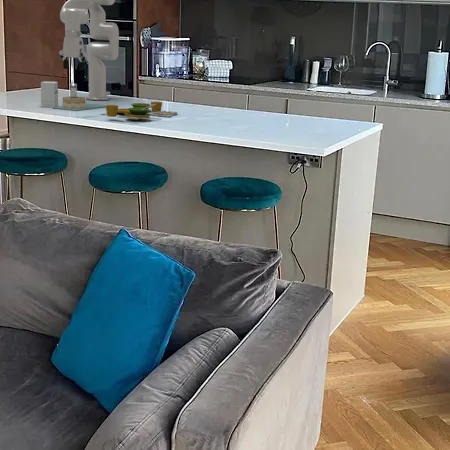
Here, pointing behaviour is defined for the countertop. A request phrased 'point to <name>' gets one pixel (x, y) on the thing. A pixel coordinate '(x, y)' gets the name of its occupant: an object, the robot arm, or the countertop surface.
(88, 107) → the mat
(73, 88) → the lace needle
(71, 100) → the tan box
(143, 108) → the tableware set
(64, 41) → the robot arm
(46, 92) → the supplement box
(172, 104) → the countertop surface
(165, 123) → the countertop surface
